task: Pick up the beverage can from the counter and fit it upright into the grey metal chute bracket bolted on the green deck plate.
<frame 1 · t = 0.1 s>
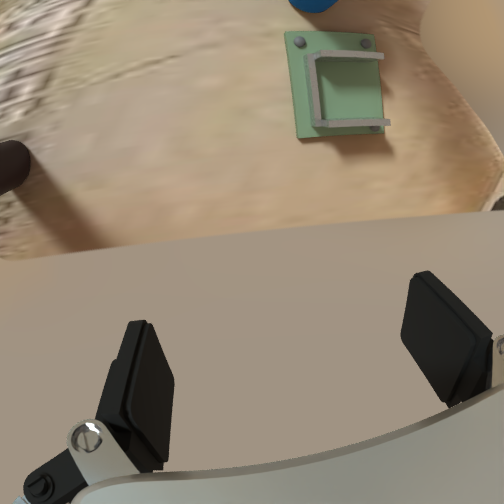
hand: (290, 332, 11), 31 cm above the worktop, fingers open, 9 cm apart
deck plate: (336, 82, 35), on the worktop
wine bottle: (14, 162, 34), on the worktop
chute bracket: (339, 89, 34), resting on deck plate
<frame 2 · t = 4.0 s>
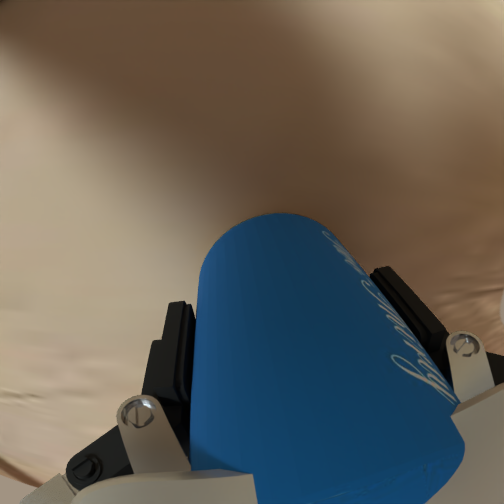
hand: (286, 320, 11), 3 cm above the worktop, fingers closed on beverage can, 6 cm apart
beverage can: (272, 274, 14), on the worktop, touching gripper
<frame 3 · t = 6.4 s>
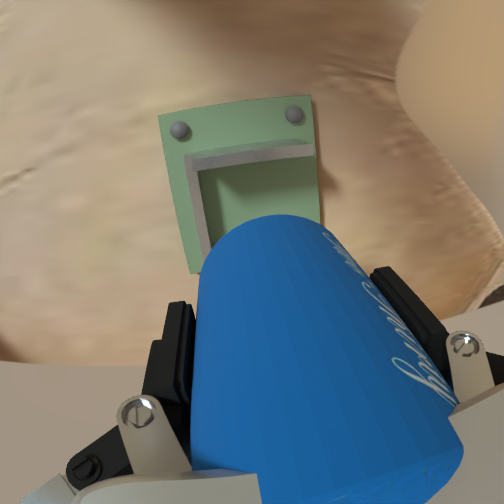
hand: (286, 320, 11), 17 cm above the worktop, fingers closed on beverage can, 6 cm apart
deck plate: (245, 184, 26), on the worktop
beverage can: (272, 275, 14), point 14 cm above the worktop, touching gripper
chute bracket: (247, 199, 26), resting on deck plate
when the fingers open (6 cm above the worktop, at t = 9.2 s): beverage can drops 2 cm, resting on deck plate.
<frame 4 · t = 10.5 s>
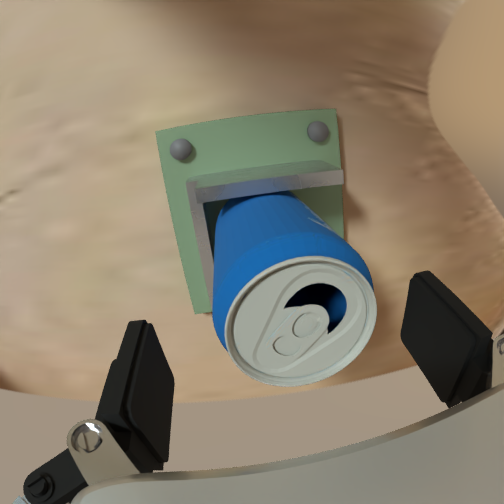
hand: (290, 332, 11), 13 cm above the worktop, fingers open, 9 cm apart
deck plate: (258, 213, 23), on the worktop
beverage can: (262, 227, 22), point 1 cm above the worktop, touching deck plate
chute bracket: (261, 231, 22), resting on deck plate
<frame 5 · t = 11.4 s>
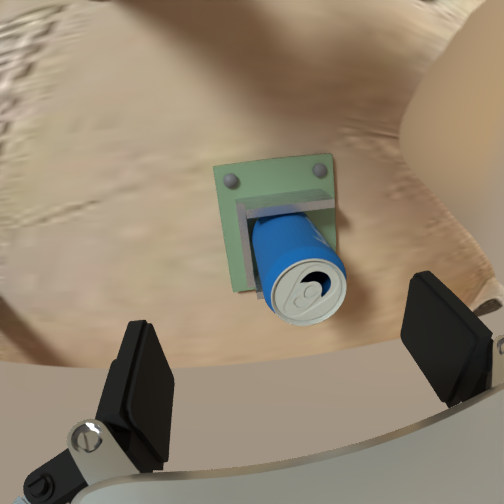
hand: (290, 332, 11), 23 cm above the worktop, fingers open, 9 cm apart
deck plate: (279, 223, 34), on the worktop
beverage can: (281, 232, 33), point 1 cm above the worktop, touching deck plate
chute bracket: (281, 235, 33), resting on deck plate
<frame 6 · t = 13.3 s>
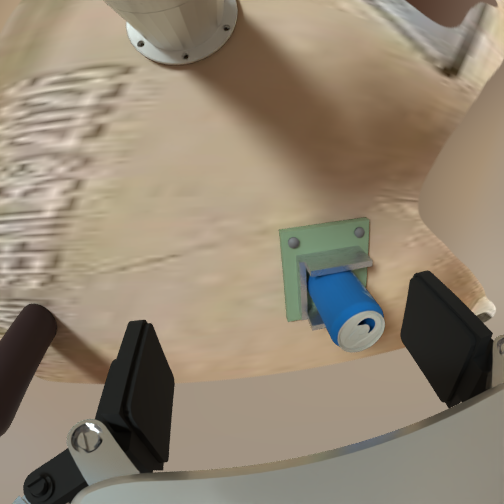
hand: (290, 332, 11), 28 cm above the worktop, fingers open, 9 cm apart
deck plate: (325, 270, 43), on the worktop
wine bottle: (40, 319, 42), on the worktop
beverage can: (327, 278, 42), point 1 cm above the worktop, touching deck plate
chute bracket: (327, 280, 42), resting on deck plate
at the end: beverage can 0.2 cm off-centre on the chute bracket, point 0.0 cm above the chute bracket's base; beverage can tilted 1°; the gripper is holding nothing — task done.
